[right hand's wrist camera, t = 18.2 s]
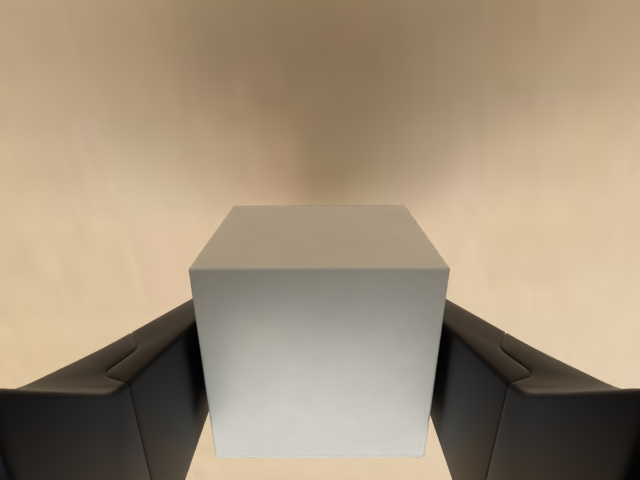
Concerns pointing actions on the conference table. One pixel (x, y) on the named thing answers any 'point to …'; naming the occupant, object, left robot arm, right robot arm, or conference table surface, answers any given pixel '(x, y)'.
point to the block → (319, 331)
